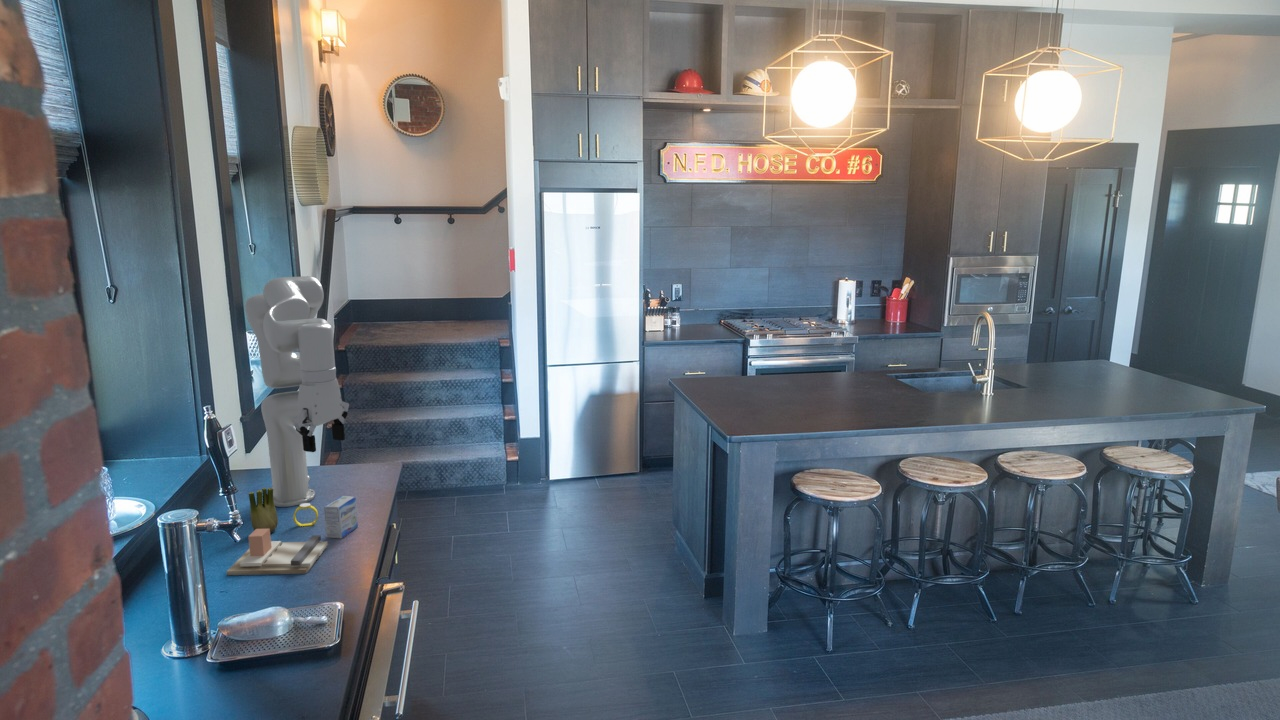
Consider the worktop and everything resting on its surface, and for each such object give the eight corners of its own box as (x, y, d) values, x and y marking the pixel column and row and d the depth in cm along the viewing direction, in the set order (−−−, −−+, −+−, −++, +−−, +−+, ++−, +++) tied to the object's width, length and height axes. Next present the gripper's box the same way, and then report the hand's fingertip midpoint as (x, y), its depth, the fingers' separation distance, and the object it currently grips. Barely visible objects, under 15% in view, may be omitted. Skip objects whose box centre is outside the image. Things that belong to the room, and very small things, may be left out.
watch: (318, 523, 212) (318, 502, 211) (317, 527, 209) (317, 506, 208) (294, 524, 210) (294, 503, 209) (293, 528, 207) (292, 507, 206)
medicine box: (341, 539, 201) (339, 507, 199) (325, 538, 202) (323, 506, 200) (358, 527, 209) (356, 496, 207) (343, 525, 209) (340, 495, 208)
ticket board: (255, 546, 196) (253, 535, 196) (330, 545, 197) (329, 534, 197) (227, 575, 182) (225, 563, 181) (308, 573, 183) (307, 561, 182)
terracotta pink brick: (261, 544, 195) (259, 522, 194) (281, 543, 195) (279, 522, 194) (240, 566, 183) (237, 543, 182) (261, 566, 183) (258, 543, 182)
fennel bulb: (251, 537, 202) (246, 493, 200) (256, 529, 207) (252, 486, 205) (275, 535, 203) (271, 491, 201) (280, 527, 208) (275, 484, 206)
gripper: (332, 367, 194) (337, 434, 197) (278, 382, 178) (284, 454, 181) (356, 369, 191) (361, 437, 195) (304, 384, 175) (310, 457, 179)
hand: (324, 445), depth 188 cm, fingers open, 9 cm apart
